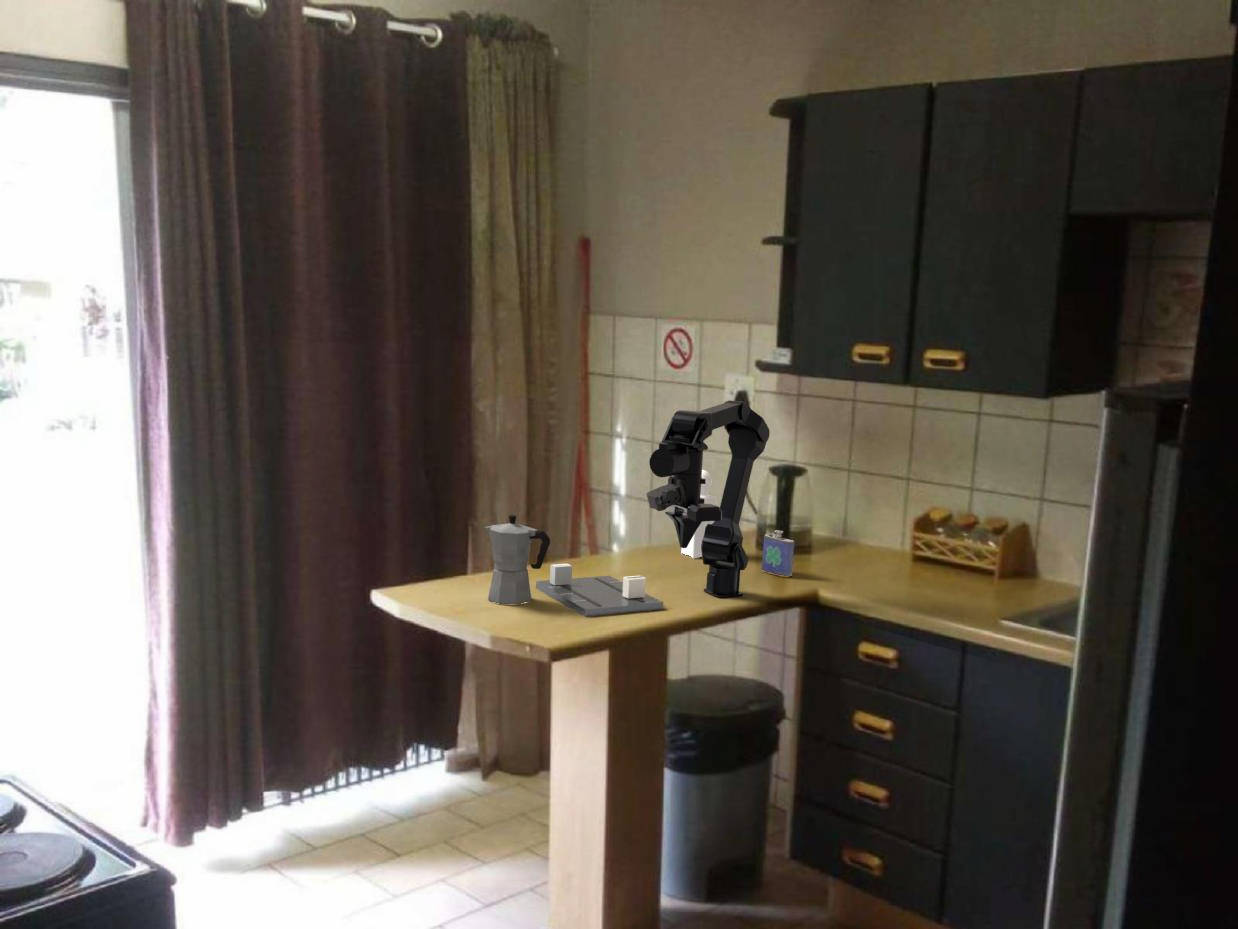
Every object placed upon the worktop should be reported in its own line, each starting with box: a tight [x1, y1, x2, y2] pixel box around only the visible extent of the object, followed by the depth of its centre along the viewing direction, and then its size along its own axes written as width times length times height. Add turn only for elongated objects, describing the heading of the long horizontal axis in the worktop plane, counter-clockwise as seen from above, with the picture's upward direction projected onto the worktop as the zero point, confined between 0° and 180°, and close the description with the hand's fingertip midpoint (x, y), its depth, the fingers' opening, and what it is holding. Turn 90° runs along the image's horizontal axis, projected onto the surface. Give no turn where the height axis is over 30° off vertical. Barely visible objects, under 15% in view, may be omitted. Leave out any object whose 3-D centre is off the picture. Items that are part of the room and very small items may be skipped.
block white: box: [549, 563, 573, 585], centre depth 247 cm, size 4×2×4 cm, turn 118°
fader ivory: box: [622, 575, 647, 598], centre depth 239 cm, size 4×2×4 cm, turn 118°
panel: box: [535, 575, 664, 618], centre depth 243 cm, size 18×24×2 cm
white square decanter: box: [680, 469, 718, 559], centre depth 288 cm, size 6×6×22 cm
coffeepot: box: [483, 514, 551, 605], centre depth 237 cm, size 15×9×18 cm, turn 66°
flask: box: [761, 529, 795, 577], centre depth 273 cm, size 9×3×11 cm, turn 38°
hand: (683, 547), depth 236 cm, fingers closed
